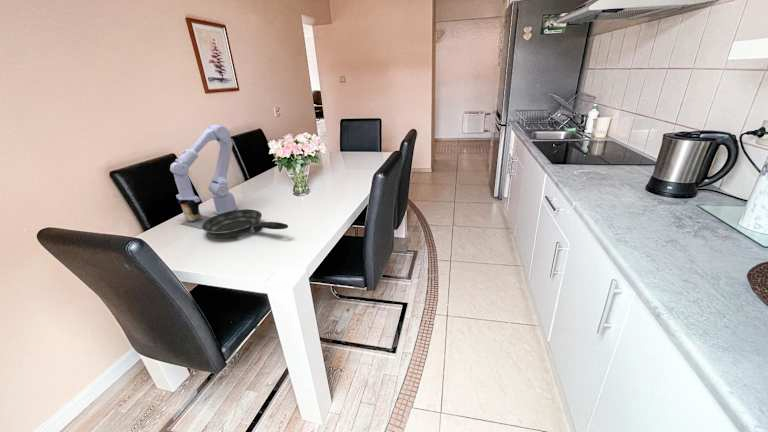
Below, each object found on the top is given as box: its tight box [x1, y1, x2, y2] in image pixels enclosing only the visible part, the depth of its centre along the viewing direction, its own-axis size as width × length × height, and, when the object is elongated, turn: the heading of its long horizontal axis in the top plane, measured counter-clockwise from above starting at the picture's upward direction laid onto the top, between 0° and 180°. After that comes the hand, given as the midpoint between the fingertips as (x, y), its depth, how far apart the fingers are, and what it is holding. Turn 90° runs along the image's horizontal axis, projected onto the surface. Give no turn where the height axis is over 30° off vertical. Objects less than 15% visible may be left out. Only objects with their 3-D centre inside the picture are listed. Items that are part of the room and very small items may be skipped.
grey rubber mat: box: [179, 214, 212, 230], centre depth 152 cm, size 11×18×1 cm, turn 64°
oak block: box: [180, 201, 202, 221], centre depth 152 cm, size 5×4×8 cm
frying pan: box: [201, 208, 289, 239], centre depth 139 cm, size 44×25×7 cm, turn 65°
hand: (192, 213), depth 153 cm, fingers closed on oak block, 4 cm apart
